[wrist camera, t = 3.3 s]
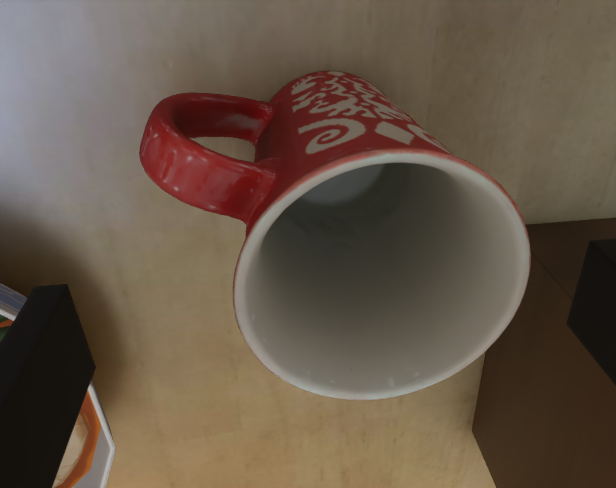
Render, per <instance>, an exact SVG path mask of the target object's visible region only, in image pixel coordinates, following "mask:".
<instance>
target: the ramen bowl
mask: <svg viewBox="0 0 616 488" xmlns="http://www.w3.org/2000/svg"><path fill="white" fill-rule="evenodd" d="M26 300H27V298H26V297H25V296H24V295H22V294H20V293H18V292H16V291H14V290H12V289H10V288H8V287H6V286H5V285H3V284H1V283H0V342H1V341H2V339H3V337H4V336H5V334H6V333H7V331H8V329H9V328H10V326H11V324H12V323H13V321H14V320H15V318H16V316H17V315H18V313H19V312H20V310H21V308H22V307H23V305H24V303H25V302H26ZM115 450H116V448H115V444H114V441H113V437H112V434H111V430H110V427H109V424H108V421H107V418H106V416H105V413H104V410H103V407H102V405H101V402H100V399H99V397H98V394H97V391H96V389H95V386H94V383H93V381H92V379H91V382H90V385H89V387H88V390H87V393H86V396H85V398H84V401H83V404H82V407H81V409H80V412H79V415H78V418H77V420H76V423H75V426H74V429H73V432H72V434H71V437H70V440H69V443H68V445H67V448H66V451H65V454H64V456H63V459H62V462H61V465H60V467H59V470H58V473H57V476H56V478H55V481H54V484H53V487H52V488H105V486H106V482H107V479H108V475H109V472H110V468H111V464H112V461H113V457H114V454H115Z"/></svg>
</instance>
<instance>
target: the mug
mask: <svg viewBox="0 0 616 488" xmlns="http://www.w3.org/2000/svg"><path fill="white" fill-rule="evenodd" d="M197 137H233V138H239V139H244V140H247V141H250V142H251V143H253V145H254V146H255V159H254V163H253V162H248V161H243V160H237V159H234V158H231V157H228V156H225V155H222V154H220V153H217V152H215V151H213V150H210V149H207V148H205V147H203V146H201V145H200V144H198V143H197V142H195V141H193V140H191V139H189V138H197ZM139 154H140V161H141V164H142V166H143V168H144V170H145V172H146V174H147V175H148V176H149V177H150V178H151V180H152V181H153V182H154V183H155V184H157V185H158V186H159V187H160V188H161V189H163V190H164V191H165V192H167V193H168V194H170V195H172V196H173V197H175V198H177V199H178V200H180V201H182V202H184V203H187V204H189V205H191V206H194V207H197V208H200V209H203V210H205V211H209V212H213V213H217V214H221V215H227V216H230V217H232V218H236V219H239V220H241V221H243V222H244V223H245V224H246V225H247V227H246V238H245V241H244V244H243V246H242V249H241V251H240V254H239V257H238V261H237V264H236V268H235V273H234V281H233V305H234V309H235V317H236V320H237V323H238V327H239V329H240V331H241V333H242V335H243V338H244V340H245V341H246V343H247V345H248V346H249V348H250V349H251V351H252V352H253V353H254V355H255V356H256V357H257V359H258V360H259V361H260V362H261V363H262V364H263V365H264V366H265V367H266V368H268V369H269V370H270V371H271V372H272V373H274V374H275V375H277V376H278V377H279V378H281V379H282V380H284V381H286V382H288V383H290V384H291V385H293V386H295V387H298V388H300V389H303V390H305V391H308V392H311V393H314V394H317V395H321V396H326V397H331V398H338V399H348V400H374V399H384V398H390V397H396V396H401V395H405V394H408V393H412V392H415V391H418V390H421V389H424V388H426V387H429V386H431V385H434V384H436V383H438V382H440V381H443V380H444V379H446V378H448V377H450V376H452V375H454V374H455V373H457V372H459V371H461V370H462V369H464V368H465V367H466V366H468V365H469V364H471V363H472V362H474V361H475V360H476V359H477V358H479V357H480V356H481V355H482V354H483V353H484V352H485V351H486V350H487V349H488V348H489V347H490V346H491V345H492V344H493V343H494V342H495V341H496V340H497V339H498V338H499V336H500V335H501V334H502V333H503V331H504V330H505V329H506V327H507V326H508V324H509V323H510V322H511V320H512V319H513V317H514V315H515V313H516V311H517V309H518V308H519V306H520V303H521V301H522V298H523V296H524V293H525V290H526V286H527V282H528V278H529V273H530V266H531V252H530V242H529V237H528V232H527V228H526V226H525V223H524V220H523V218H522V215H521V213H520V211H519V209H518V207H517V206H516V204H515V202H514V201H513V199H512V198H511V197H510V195H509V194H508V193H507V192H506V190H505V189H504V188H503V187H502V186H501V185H500V184H499V183H498V182H496V181H495V180H494V179H493V178H492V177H491V176H490V175H488V174H487V173H485V172H484V171H483V170H481V169H479V168H477V167H476V166H474V165H472V164H470V163H469V162H467V161H465V160H463V159H460V158H457V157H456V156H454V155H453V154H452V153H451V152H450V151H449V150H448V149H447V148H445V147H444V146H443V145H442V144H441V143H440V142H438V141H437V140H436V139H435V138H434V137H432V136H431V135H430V134H428V133H427V132H426V131H425V130H424V129H423V128H421V127H420V126H419V125H418V124H417V123H416V122H415V121H414V120H413V119H412V118H411V117H410V116H409V115H407V114H406V113H404V112H403V111H402V110H400V109H399V108H398V107H397V106H396V105H395V104H394V103H392V102H391V101H390V100H389V99H388V98H387V97H386V96H385V95H384V94H383V93H382V92H381V91H380V90H379V89H377V88H376V87H375V86H373V85H372V84H370V83H369V82H367V81H366V80H364V79H362V78H360V77H357V76H355V75H352V74H349V73H345V72H338V71H322V72H315V73H311V74H307V75H305V76H302V77H300V78H298V79H295V80H294V81H292V82H290V83H289V84H287V85H286V86H285V87H283V88H282V89H281V90H280V91H279V92H278V93H277V94H276V95H275V96H274V97H273V98H272V100H271V101H270V102H269V103H268V102H263V101H256V100H252V99H248V98H243V97H236V96H229V95H221V94H210V93H182V94H177V95H172V96H170V97H167V98H165V99H163V100H162V101H160V102H159V103H158V104H157V105H156V107H155V108H154V109H153V111H152V113H151V115H150V117H149V119H148V122H147V124H146V127H145V130H144V134H143V137H142V141H141V145H140V152H139Z"/></svg>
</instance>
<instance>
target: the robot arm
mask: <svg viewBox="0 0 616 488" xmlns="http://www.w3.org/2000/svg"><path fill="white" fill-rule="evenodd" d="M566 324H567V326H568V327H569V328H570V329H571V331H572V332H573V333H574V334H575V336H576V337H577V338H578V339H579V341H580V342H581V343H582V344H583V346H584V347H585V348H586V349H587V351H588V352H589V353H590V354H591V356H592V357H593V358H594V359H595V361H596V362H597V363H598V364H599V366H600V367H601V368H602V369H603V371H604V372H605V373H606V374H607V376H608V377H609V378H610V379H611V381H612V382H613V383H614V384H615V386H616V238H615V239H603V240H591V241H589V244H588V248H587V251H586V255H585V259H584V262H583V266H582V269H581V273H580V276H579V280H578V284H577V287H576V291H575V294H574V298H573V301H572V305H571V309H570V312H569V316H568V319H567V323H566ZM95 368H96V367H95V364H94V361H93V358H92V355H91V352H90V349H89V346H88V343H87V341H86V338H85V335H84V332H83V329H82V326H81V323H80V320H79V317H78V314H77V311H76V309H75V306H74V303H73V300H72V297H71V294H70V291H69V288H68V285H67V284H63V285H51V286H39V287H34V289H33V290H32V292H31V294H30V295H29V297H28V299H27V300H26V302H25V303H24V305H23V307H22V308H21V310H20V312H19V313H18V315H17V316H16V318H15V320H14V321H13V323H12V324H11V326H10V328H9V329H8V331H7V333H6V334H5V336H4V337H3V339H2V341H1V342H0V488H52V487H53V484H54V481H55V478H56V476H57V473H58V470H59V467H60V465H61V462H62V459H63V456H64V454H65V451H66V448H67V445H68V443H69V440H70V437H71V434H72V432H73V429H74V426H75V423H76V420H77V418H78V415H79V412H80V409H81V407H82V404H83V401H84V398H85V396H86V393H87V390H88V387H89V385H90V382H91V379H92V376H93V374H94V371H95Z"/></svg>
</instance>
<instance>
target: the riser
mask: <svg viewBox="0 0 616 488" xmlns="http://www.w3.org/2000/svg"><path fill="white" fill-rule="evenodd" d="M525 226H526V228H527V232H528V237H529V242H530V252H531V266H530V273H529V278H528V282H527V286H526V290H525V293H524V296H523V298H522V301H521V303H520V306H519V308H518V309H517V311H516V313H515V315H514V317H513V319H512V320H511V322H510V323H509V324H508V326H507V327H506V329H505V330H504V331H503V333H502V334H501V335H500V336H499V338H498V339H497V340H496V341H495V342H494V343H493V344H492V345H491V346H490V347H489V348H488V349H487V352H486V357H485V363H484V368H483V373H482V379H481V384H480V390H479V395H478V401H477V406H476V412H475V417H474V423H473V428H472V432H473V435H474V437H475V439H476V442H477V444H478V446H479V448H480V451H481V453H482V455H483V458H484V460H485V462H486V465H487V467H488V469H489V472H490V474H491V476H492V479H493V481H494V483H495V485H496V488H616V386H615V384H614V383H613V382H612V381H611V379H610V378H609V377H608V376H607V374H606V373H605V372H604V371H603V369H602V368H601V367H600V366H599V364H598V363H597V362H596V361H595V359H594V358H593V357H592V356H591V354H590V353H589V352H588V351H587V349H586V348H585V347H584V346H583V344H582V343H581V342H580V341H579V339H578V338H577V337H576V336H575V334H574V333H573V332H572V331H571V329H570V328H569V327H568V326H567V324H566V323H567V319H568V316H569V312H570V309H571V305H572V301H573V298H574V294H575V291H576V287H577V284H578V280H579V276H580V273H581V269H582V266H583V262H584V259H585V255H586V251H587V248H588V244H589V241H591V240H603V239H615V238H616V218H613V219H600V220H587V221H574V222H561V223H548V224H536V225H525Z"/></svg>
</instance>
